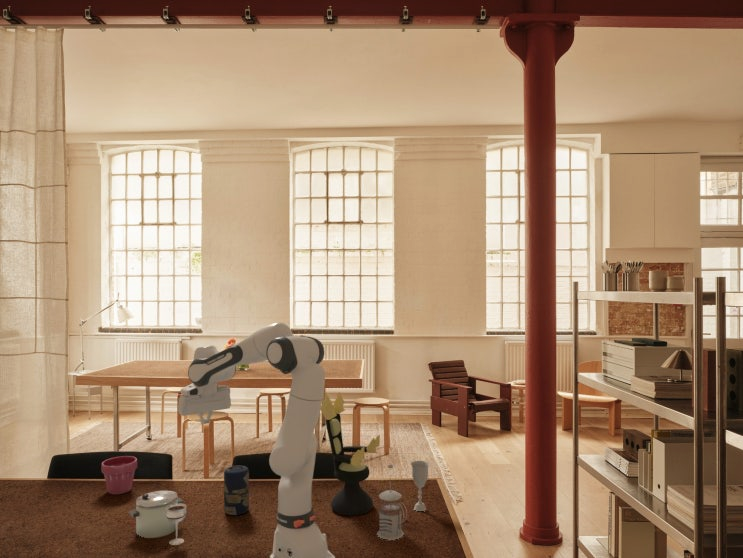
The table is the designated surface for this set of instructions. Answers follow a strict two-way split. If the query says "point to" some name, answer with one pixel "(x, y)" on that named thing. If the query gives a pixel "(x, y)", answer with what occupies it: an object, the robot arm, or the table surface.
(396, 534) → the french press
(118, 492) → the plant pot
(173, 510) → the wineglass
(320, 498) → the table surface
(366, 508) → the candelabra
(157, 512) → the pot
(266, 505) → the table surface
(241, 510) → the canister
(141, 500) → the lid
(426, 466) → the chalice
